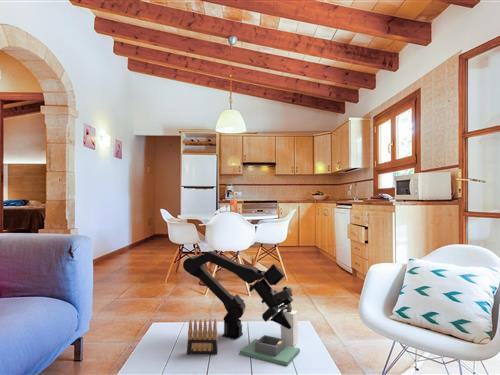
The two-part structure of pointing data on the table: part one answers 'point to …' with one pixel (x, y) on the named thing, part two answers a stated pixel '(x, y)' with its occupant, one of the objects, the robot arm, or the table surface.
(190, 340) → the ammunition clip
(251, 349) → the header board
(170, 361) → the table surface
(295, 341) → the plug block
